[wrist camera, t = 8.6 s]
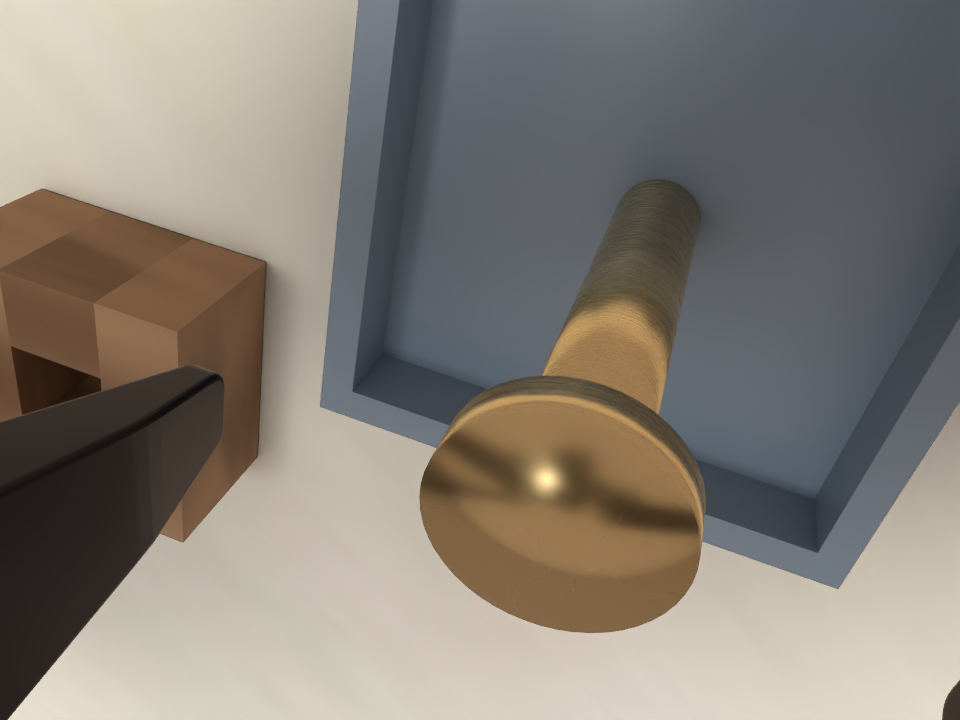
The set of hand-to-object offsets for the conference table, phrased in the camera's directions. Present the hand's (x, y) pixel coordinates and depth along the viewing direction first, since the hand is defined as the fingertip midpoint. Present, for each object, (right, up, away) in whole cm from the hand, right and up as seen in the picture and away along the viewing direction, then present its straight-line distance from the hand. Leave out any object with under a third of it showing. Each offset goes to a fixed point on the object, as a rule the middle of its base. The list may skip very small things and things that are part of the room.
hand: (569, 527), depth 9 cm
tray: (+3, +5, +9) cm, 11 cm away
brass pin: (+3, +5, +8) cm, 10 cm away
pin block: (-11, +3, +15) cm, 19 cm away
